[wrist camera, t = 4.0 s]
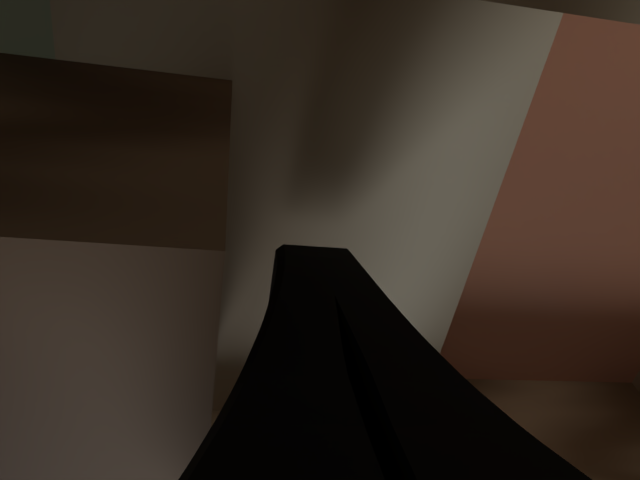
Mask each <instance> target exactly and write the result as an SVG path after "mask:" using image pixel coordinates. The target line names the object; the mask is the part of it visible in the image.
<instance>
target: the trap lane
mask: <svg viewBox="0 0 640 480" xmlns="http://www.w3.org/2000/svg"><path fill="white" fill-rule="evenodd" d="M0 53H7V54H15V55H23V56H32V57H40V58H48V59H57V60H65V61H74V62H82V63H90V64H99V65H107V66H115V67H124V68H132V69H141V70H149V71H157V72H166V73H174V74H182V75H191V76H199V77H207V78H216V79H224V80H232V101H231V125H230V149H229V172H228V196H227V219H226V243H225V259H224V272H223V284H222V296H221V308H220V321H219V333H218V345H217V358H216V370H215V382H214V395H213V407H212V419H211V427H212V425H213V423H214V422H215V420H216V418H217V416H218V415H219V413H220V411H221V409H222V407H223V406H224V404H225V402H226V400H227V398H228V396H229V395H230V393H231V391H232V389H233V387H234V385H235V383H236V381H237V379H238V377H239V375H240V373H241V371H242V369H243V367H244V365H245V362H246V360H247V358H248V355H249V353H250V351H251V348H252V346H253V344H254V341H255V339H256V337H257V334H258V332H259V330H260V327H261V324H262V322H263V319H264V316H265V313H266V310H267V306H268V302H269V295H270V287H271V280H272V273H273V265H274V258H275V250H276V249H277V248H279V247H280V246H282V245H283V244H286V245H302V246H317V247H333V248H347V249H348V250H349V251H350V252H351V253H352V255H353V256H354V257H355V258H356V259H357V261H358V262H359V263H360V264H361V266H362V267H363V268H364V269H365V270H366V272H367V273H368V274H369V275H370V276H371V278H372V279H373V280H374V281H375V283H376V284H377V285H378V286H379V287H380V289H381V290H382V291H383V292H384V293H385V295H386V296H387V297H388V298H389V299H390V300H391V302H392V303H393V304H394V305H395V306H396V307H397V308H398V310H399V311H400V312H401V313H402V314H403V315H404V316H405V317H406V319H407V320H408V321H409V322H410V323H411V324H412V325H413V326H414V327H415V328H416V329H417V331H418V332H419V333H420V334H421V335H422V336H423V337H424V338H425V339H426V340H427V341H428V342H429V343H430V344H431V345H432V346H433V347H434V348H435V349H436V350H437V351H438V352H439V353H440V354H441V355H442V356H443V357H444V358H445V359H446V360H447V361H448V362H449V363H450V364H451V365H452V366H453V367H454V368H455V369H456V370H457V371H458V372H459V373H460V374H461V375H462V376H463V377H464V378H465V379H467V380H468V381H469V382H470V383H471V384H472V385H473V386H474V387H475V388H476V389H478V390H479V391H480V392H481V393H482V394H483V395H484V396H486V397H487V398H488V399H489V400H490V401H492V402H493V403H494V404H495V405H496V406H497V407H499V408H500V409H501V410H502V411H503V412H504V413H506V414H507V415H508V416H509V417H510V418H512V419H513V420H514V421H515V422H516V423H518V424H519V425H520V426H521V427H523V428H524V429H525V430H526V431H528V432H529V433H530V434H531V435H533V436H534V437H535V438H537V439H538V440H539V441H540V442H542V443H543V444H544V445H546V446H547V447H549V448H550V449H551V450H553V451H554V452H555V453H557V454H558V455H559V456H561V457H562V458H563V459H565V460H566V461H568V462H569V463H570V464H572V465H573V466H574V467H576V468H577V469H578V470H580V471H581V472H583V473H584V474H585V475H587V476H588V477H589V478H591V479H592V480H640V0H0Z"/></svg>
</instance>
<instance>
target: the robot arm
mask: <svg viewBox="0 0 640 480" xmlns="http://www.w3.org/2000/svg"><path fill="white" fill-rule="evenodd" d="M178 480H592V479H591V478H589V477H588V476H587V475H585V474H584V473H583V472H581V471H580V470H578V469H577V468H576V467H574V466H573V465H572V464H570V463H569V462H568V461H566V460H565V459H563V458H562V457H561V456H559V455H558V454H557V453H555V452H554V451H553V450H551V449H550V448H549V447H547V446H546V445H544V444H543V443H542V442H540V441H539V440H538V439H537V438H535V437H534V436H533V435H531V434H530V433H529V432H528V431H526V430H525V429H524V428H523V427H521V426H520V425H519V424H518V423H516V422H515V421H514V420H513V419H512V418H510V417H509V416H508V415H507V414H506V413H504V412H503V411H502V410H501V409H500V408H499V407H497V406H496V405H495V404H494V403H493V402H492V401H490V400H489V399H488V398H487V397H486V396H484V395H483V394H482V393H481V392H480V391H479V390H478V389H476V388H475V387H474V386H473V385H472V384H471V383H470V382H469V381H468V380H467V379H465V378H464V377H463V376H462V375H461V374H460V373H459V372H458V371H457V370H456V369H455V368H454V367H453V366H452V365H451V364H450V363H449V362H448V361H447V360H446V359H445V358H444V357H443V356H442V355H441V354H440V353H439V352H438V351H437V350H436V349H435V348H434V347H433V346H432V345H431V344H430V343H429V342H428V341H427V340H426V339H425V338H424V337H423V336H422V335H421V334H420V333H419V332H418V331H417V329H416V328H415V327H414V326H413V325H412V324H411V323H410V322H409V321H408V320H407V319H406V317H405V316H404V315H403V314H402V313H401V312H400V311H399V310H398V308H397V307H396V306H395V305H394V304H393V303H392V302H391V300H390V299H389V298H388V297H387V296H386V295H385V293H384V292H383V291H382V290H381V289H380V287H379V286H378V285H377V284H376V283H375V281H374V280H373V279H372V278H371V276H370V275H369V274H368V273H367V272H366V270H365V269H364V268H363V267H362V266H361V264H360V263H359V262H358V261H357V259H356V258H355V257H354V256H353V255H352V253H351V252H350V251H349V250H348V249H347V248H333V247H317V246H302V245H286V244H283V245H282V246H280V247H279V248H277V249H276V250H275V258H274V265H273V273H272V280H271V287H270V295H269V302H268V306H267V310H266V313H265V316H264V319H263V322H262V324H261V327H260V330H259V332H258V334H257V337H256V339H255V341H254V344H253V346H252V348H251V351H250V353H249V355H248V358H247V360H246V362H245V365H244V367H243V369H242V371H241V373H240V375H239V377H238V379H237V381H236V383H235V385H234V387H233V389H232V391H231V393H230V395H229V396H228V398H227V400H226V402H225V404H224V406H223V407H222V409H221V411H220V413H219V415H218V416H217V418H216V420H215V422H214V423H213V425H212V427H211V428H210V430H209V432H208V433H207V435H206V436H205V438H204V440H203V441H202V443H201V445H200V446H199V448H198V450H197V451H196V453H195V455H194V456H193V458H192V459H191V461H190V462H189V464H188V466H187V467H186V469H185V470H184V472H183V473H182V475H181V476H180V478H179V479H178Z"/></svg>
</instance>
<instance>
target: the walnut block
mask: <svg viewBox="0 0 640 480" xmlns="http://www.w3.org/2000/svg"><path fill="white" fill-rule="evenodd" d="M231 101H232V80H224V79H216V78H207V77H199V76H191V75H182V74H174V73H166V72H157V71H149V70H141V69H132V68H124V67H115V66H107V65H99V64H90V63H82V62H74V61H65V60H57V59H48V58H40V57H32V56H23V55H15V54H7V53H0V480H178V479H179V478H180V476H181V475H182V473H183V472H184V470H185V469H186V467H187V466H188V464H189V462H190V461H191V459H192V458H193V456H194V455H195V453H196V451H197V450H198V448H199V446H200V445H201V443H202V441H203V440H204V438H205V436H206V435H207V433H208V432H209V430H210V428H211V419H212V407H213V395H214V382H215V370H216V358H217V345H218V333H219V321H220V308H221V296H222V284H223V272H224V259H225V243H226V219H227V196H228V172H229V149H230V125H231Z"/></svg>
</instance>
